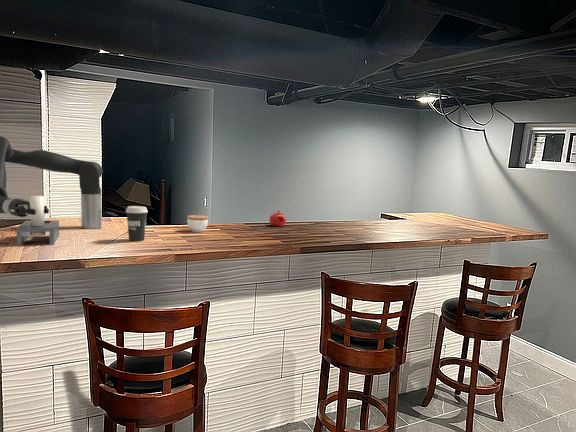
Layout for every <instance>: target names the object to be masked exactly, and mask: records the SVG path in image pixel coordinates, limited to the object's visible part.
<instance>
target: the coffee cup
mask: <svg viewBox="0 0 576 432" xmlns="http://www.w3.org/2000/svg"><path fill="white" fill-rule="evenodd" d="M148 212H149V211H148V209H147V207H146V206H141V205H131V206H130V205H128V206H127V207H126V209H125V213H126V220H127V230H128V231H127V233H128V241H129V242H142V241H145V235H146V225H147V215H148Z"/></svg>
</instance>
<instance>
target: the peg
mask: <svg viewBox="0 0 576 432" xmlns="http://www.w3.org/2000/svg"><path fill="white" fill-rule="evenodd" d="M29 202H30V209H35V210H36V214H35V215H32V214H29V215H30V217H29V218H30V221H31V226H44V225H45V224H44V220H45V213H44V206H45V196H44V195H31V196H29ZM45 235H46V232H30V237H31V236H32V237H38V236H39V237H41V236H42V237H43V236H45Z"/></svg>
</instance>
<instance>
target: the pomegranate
mask: <svg viewBox="0 0 576 432" xmlns="http://www.w3.org/2000/svg"><path fill="white" fill-rule="evenodd" d="M286 223H287V219H286V217H285V214H284V213H281V212H280V210H279V209H278V210H277V212H274V213H272V214H271V215H270V216H269V224H270V225H271V226H272V227H278V228H279V227H284V226H285V225H286Z"/></svg>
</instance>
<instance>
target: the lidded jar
mask: <svg viewBox="0 0 576 432" xmlns="http://www.w3.org/2000/svg"><path fill="white" fill-rule="evenodd" d="M186 218H187V222H186V223H187V227H188V228H189V230H191V232H193V233H203V232H204V231H205V230H206V229H207V227H208V224H209V216H207V215H201V214H199V213H198V212H197V213H196V214H191V215H187V217H186Z"/></svg>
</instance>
